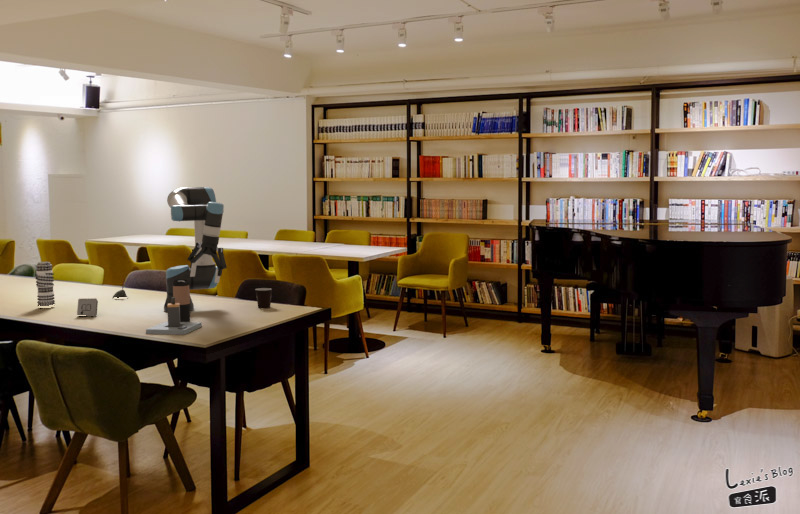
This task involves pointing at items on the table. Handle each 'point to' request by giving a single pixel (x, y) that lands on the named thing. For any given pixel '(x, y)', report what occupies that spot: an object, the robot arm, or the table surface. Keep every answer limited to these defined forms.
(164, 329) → the socket plate
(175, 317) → the plug
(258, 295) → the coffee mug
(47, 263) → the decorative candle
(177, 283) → the travel mug
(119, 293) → the sword in stone
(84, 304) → the electrical switch
